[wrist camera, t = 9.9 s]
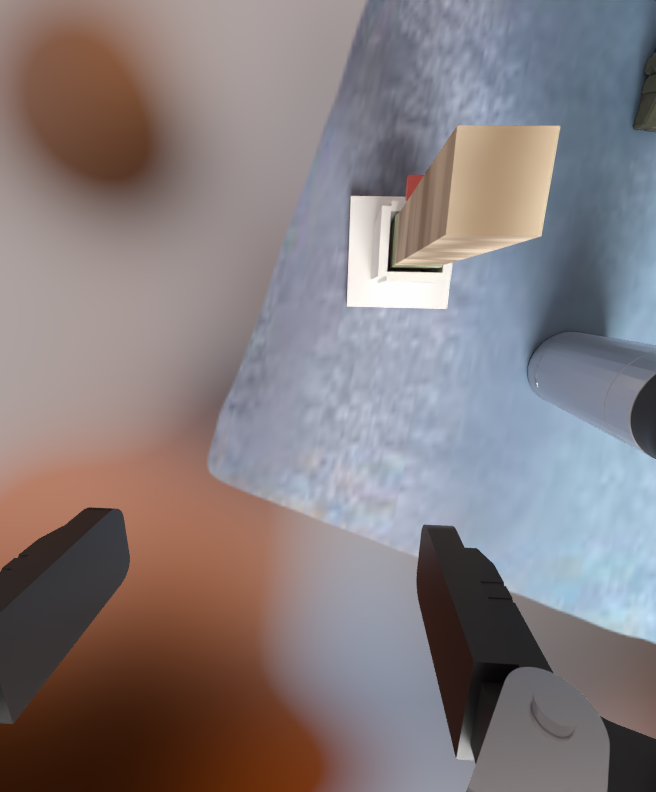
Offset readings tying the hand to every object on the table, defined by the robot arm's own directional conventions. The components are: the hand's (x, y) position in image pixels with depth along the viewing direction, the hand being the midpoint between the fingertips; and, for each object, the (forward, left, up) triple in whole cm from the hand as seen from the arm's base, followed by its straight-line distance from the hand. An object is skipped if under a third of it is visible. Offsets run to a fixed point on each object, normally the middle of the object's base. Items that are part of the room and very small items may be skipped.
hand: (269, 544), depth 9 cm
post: (-8, -11, -30) cm, 33 cm away
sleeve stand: (-8, -11, -38) cm, 40 cm away
